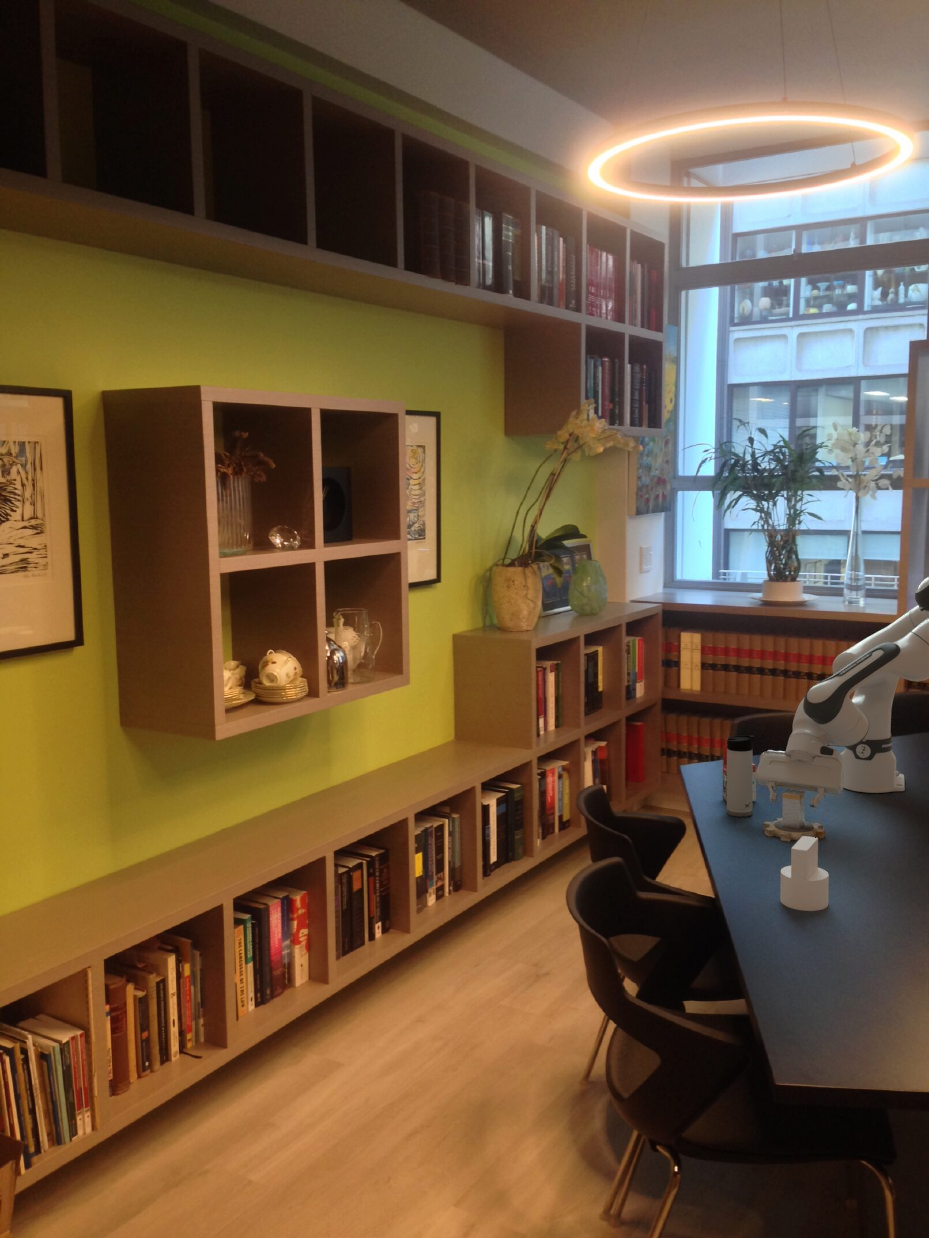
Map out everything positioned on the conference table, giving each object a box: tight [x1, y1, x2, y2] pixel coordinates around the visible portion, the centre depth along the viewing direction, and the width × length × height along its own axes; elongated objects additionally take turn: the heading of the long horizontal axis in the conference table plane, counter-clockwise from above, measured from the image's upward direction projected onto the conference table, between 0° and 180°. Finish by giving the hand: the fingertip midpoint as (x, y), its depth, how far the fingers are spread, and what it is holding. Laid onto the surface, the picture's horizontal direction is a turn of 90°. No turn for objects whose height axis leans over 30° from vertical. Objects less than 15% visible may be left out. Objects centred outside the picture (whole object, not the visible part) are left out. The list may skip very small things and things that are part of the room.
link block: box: [781, 788, 806, 829], centre depth 250 cm, size 4×4×8 cm
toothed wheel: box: [762, 817, 826, 843], centre depth 251 cm, size 14×14×2 cm
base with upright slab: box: [779, 836, 830, 912], centre depth 208 cm, size 9×9×12 cm
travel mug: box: [726, 734, 755, 818], centre depth 266 cm, size 6×7×20 cm
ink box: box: [722, 745, 757, 803], centre depth 278 cm, size 4×8×15 cm, turn 98°
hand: (792, 803), depth 249 cm, fingers open, 8 cm apart
